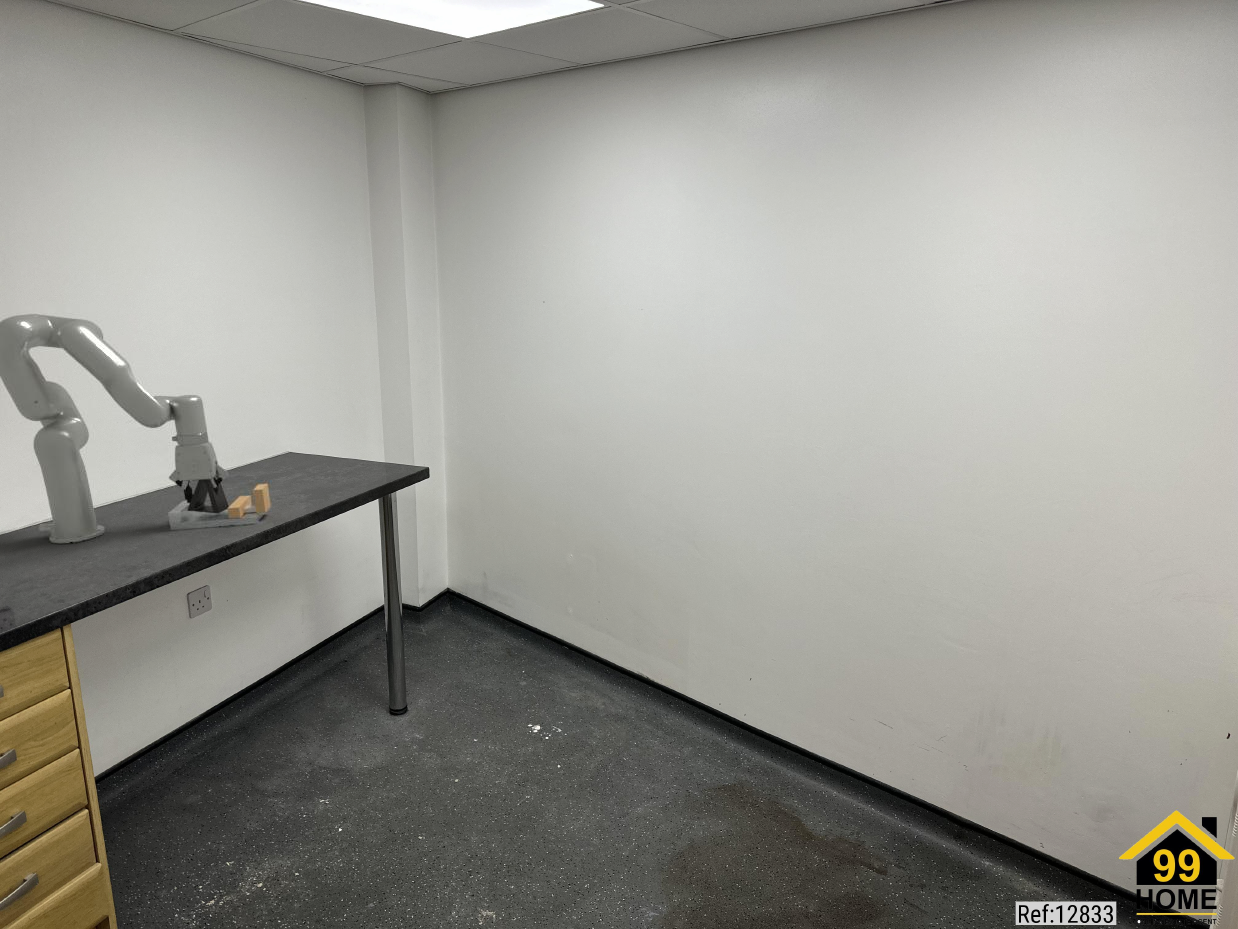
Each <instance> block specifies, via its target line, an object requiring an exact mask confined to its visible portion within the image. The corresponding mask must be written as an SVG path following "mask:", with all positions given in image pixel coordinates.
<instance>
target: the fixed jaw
mask: <svg viewBox="0 0 1238 929" xmlns="http://www.w3.org/2000/svg"><path fill="white" fill-rule="evenodd" d="M189 504H190V503H187V500H183V501H181V502H180V503H179V504H177V505H176V506H175V507H174V508H173V509H172V510H170V511H169V512H168V513H167V514H168V515H167V516H168V521H169V524H170V523H182V522H183V521H184V520H185V519H186V518H187V517H188V516H190V515H191V514H192V513H193V512H194V511H188V510H187V509H188V506H189Z"/></svg>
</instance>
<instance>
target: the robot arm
mask: <svg viewBox="0 0 1238 929" xmlns="http://www.w3.org/2000/svg"><path fill="white" fill-rule="evenodd" d="M37 347H38V348H39V347H43V348H44V347H46V348H53V349H54V348H56V349H63V351H65V352H66V353H67V354H68V355H69V356H70V357H72V358H73V359H74V360H75V361H76V362H77V363H78V364H79V365H80V366H82V367H83V368H84V369H85V370H86V371H87V372H89V374H91V376H93V377H94V378H95V379H96V380H97V381H98V382H99V383H100V384H101V385H102V387H103V389H104V390H105V391H106V392H107V393H108V394H109V396H110V397H111V398H112V399H113V401H114V402H116V404H117V405H118V406H119V408H121V409H122V410H124V411H125V413H126V414H127V415H129V416H130V417H131V418H132V419H134V421H135V422H137V423H138V424H140V425H142V426H143V427H146V428H149V429H150V428H151V429H157V428H160V427H162V426H163V425H165V424H166V423H168V422H171V421H174V425H175V430H176V432H175V433H176V434H175V435H174V436H172V437H171V441H172V442H176V443H177V445H175V446H174V447H175V448H174V463H175V464H174V467H175V469H174V470H173V472H171V474H170V475H169V476H168V479H169V480H170V481H172V482H173V483H175V484H176V485H177V486H179V488H181V490H182V491H183V494H184V499H185V501H187V503H190V501H191V499H192V496H193V494H194V491H193V488H192V486H191V481H198V480H207V479H210V481H211V484H212V486H213V488H215V491H216V493H217V495H218V492H219V489H218V485H219V484H220V483H222V482H223V480H224V479H226V477H227V476H228V475H229V471H227V470H226V469H224V468H223V467H222V466H220V465H219V464H218V458H217V455H216V452H215V449H214V447H213V446H214V445H213V443H212V442H211V441H209V436H208V429H207V423H206V416H205V409H204V403H203V399H202V397H201V396H200V395H197V394H186V395H179V396H173V395H172V396H171V395H169V396H167V395H155V396H152V395H151V394H150V393H149V392H148V391H147V390H145V388H144V387H143V386H141V384H140V383H139V382H138V381H137V380H136V378H135V376H134V374H133V371H132V368H131V365H130V363H129V361H127V359H125V358H124V357H123V356H122V355H121V354H120V353H118V351H116V349H115V348H113V347H112V346H111V345H110V344H109V343H107V342H106V341H105V339H104V333H103V331H102V329H101V328H100V327H99V325H97V324H96V323H94V322H92V321H91V320H87V319H81V318H80V319H78V318H71V317H70V318H69V317H62V316H54V315H47V314H46V315H45V314H37V313H30V314H29V313H27V314H19V315H13V316H9V317H7V318H5V319H2V320H1V321H0V379H1V381H2V383H3V385H4V387H5V389H6V390H7V392H8V394H9V395H10V398H11V399H12V401H13V403H14V405H15V407H16V409H17V410H18V411H19V413H20V415H21V416H22V417H24V418H25V419H27V420H29V421H33V422H40V423H41V425H42V426H43V427H41V428H40V429H39V430H38V431H37V433H36V434H35V436H34V437H33V449H34V453H35V456H36V458H37V461H38V464H39V467H40V471H41V473H42V478H43V482H44V486H45V491H46V495H47V500H48V504H49V510H50V514H51V518H52V522H51V523H41V524H39V526H38V530H39V533H40V534H41V533H48V532H49V533H50V535H49V541H50V542H51V543H53V544H71V543H70V542H73V543H78V542H83V540H84V541H88V540H92V539H93V538H94V537H95V538H96V537H99V536H101V535H103V534H104V533H105V532H106V529H105V526H104V525H101V524H100V525H99V524H97V518H96V514H95V509H94V504H93V498H92V494H91V489H90V484H89V480H88V475H87V470H86V467H85V463H84V461H83V457H82V456H81V453H80V450H81V449H83V448H84V447H85V446H86V445H87V443H88V441H89V437H90V432H89V429H88V426H87V425H86V421H85V420H84V418H83V417H82V415H81V413H80V411H79V409H78V408H77V406H76V404H75V401H74V400H73V398H72V397H71V395H70V394H69V392H68V391H67V390H66V389H65V388H64V387H63V386H62V385H60V384H59V383H57V382H55V381H50V380H46V378H45V376H44V374H43V373H42V371H41V369H40V367H39V365H38V364H37V363H36V361H35V359H34V358H32V356H31V354H30V349H33V348H37ZM217 474H219V475H220V476H219V478H218V479H217V478H216V477H215V476H216V475H217ZM213 478H214V479H213Z"/></svg>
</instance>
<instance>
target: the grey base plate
mask: <svg viewBox="0 0 1238 929" xmlns="http://www.w3.org/2000/svg"><path fill="white" fill-rule="evenodd" d="M265 514H266V513H256V512H249V513H244V514H243V515H242V516H241V518H229V514H228V509H226V510H225V511H223V512H221V513H207V512H195V511H194V512H193V513H192V514H191V515H190V516H188V517H187V518H186V519H185V520H184V521H183V522H182V523H170V522H169V527H170V531H177V530H178V531H179V530H193V529H205V527H207V528H219V526H221V527H230V525H234V526H243V524H247V525H256V524H258V523H259V522H260V521H261V519H262V518H263V517H264V516H265ZM263 515H264V516H263ZM257 522H258V523H257Z"/></svg>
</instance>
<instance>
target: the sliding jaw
mask: <svg viewBox="0 0 1238 929" xmlns="http://www.w3.org/2000/svg"><path fill="white" fill-rule="evenodd" d="M252 493H253V499H254V504H253V505H252V497H251V495H239V496H238V498H236V499H235V500H234V501H233V502H232V503H231V504H230V505H229V507H228V514H229V518H241V516H242V515H243V514H244V513H249V512H256V513H265V514H266V513H267V512H268V511H269V509H270V508H271V507H272V506H271V499H270V492H269V485H268V483H261V484H260V483H259V484H257V485H256V486H255V487H254V489H253V490H252Z"/></svg>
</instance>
